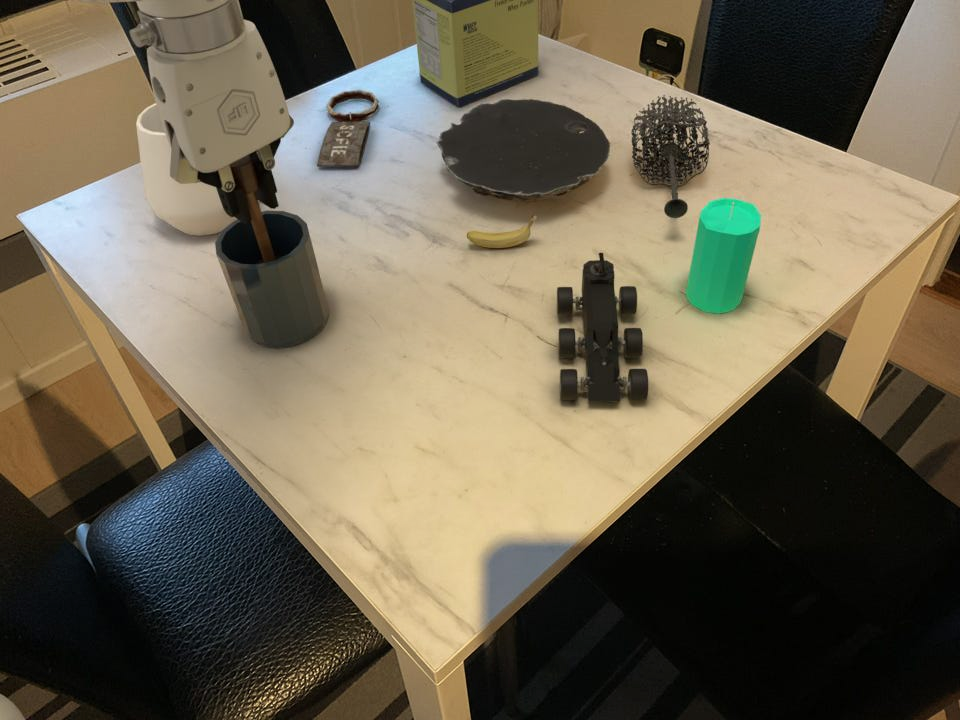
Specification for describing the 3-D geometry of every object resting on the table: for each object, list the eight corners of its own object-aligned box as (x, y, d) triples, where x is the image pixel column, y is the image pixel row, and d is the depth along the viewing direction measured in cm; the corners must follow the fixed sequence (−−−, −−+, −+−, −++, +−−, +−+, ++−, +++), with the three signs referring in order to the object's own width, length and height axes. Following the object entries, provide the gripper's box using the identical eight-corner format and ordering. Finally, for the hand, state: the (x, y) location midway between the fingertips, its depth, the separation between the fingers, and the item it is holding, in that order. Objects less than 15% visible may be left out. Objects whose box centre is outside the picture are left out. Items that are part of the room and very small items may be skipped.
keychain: (307, 170, 107) (304, 157, 106) (332, 99, 120) (330, 87, 119) (364, 169, 107) (362, 156, 105) (383, 98, 120) (381, 86, 118)
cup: (230, 171, 108) (198, 74, 98) (283, 212, 101) (255, 112, 91) (138, 214, 102) (95, 115, 92) (188, 261, 95) (147, 159, 85)
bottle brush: (262, 315, 83) (215, 177, 71) (258, 289, 86) (212, 152, 74) (304, 306, 84) (264, 167, 72) (299, 280, 87) (260, 143, 75)
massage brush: (630, 240, 93) (637, 172, 87) (627, 140, 108) (633, 74, 102) (711, 243, 92) (726, 174, 86) (698, 141, 107) (709, 75, 101)
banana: (535, 238, 95) (535, 210, 92) (537, 247, 94) (537, 219, 91) (467, 243, 95) (465, 216, 92) (468, 253, 93) (466, 225, 91)
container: (248, 356, 83) (218, 276, 75) (241, 301, 90) (212, 221, 82) (335, 336, 85) (314, 255, 77) (322, 282, 91) (301, 202, 83)
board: (601, 128, 111) (604, 94, 107) (615, 224, 96) (618, 188, 92) (444, 133, 112) (441, 99, 108) (433, 228, 97) (429, 193, 93)
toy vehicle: (632, 302, 86) (640, 237, 80) (646, 408, 76) (657, 344, 70) (556, 303, 87) (558, 238, 80) (560, 409, 76) (562, 344, 70)
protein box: (540, 74, 122) (540, -31, 111) (458, 109, 116) (449, 1, 105) (498, 51, 128) (495, -51, 117) (418, 83, 122) (406, -22, 111)
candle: (716, 269, 89) (735, 178, 80) (754, 300, 85) (778, 207, 77) (673, 289, 87) (689, 198, 79) (710, 321, 84) (731, 229, 75)
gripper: (128, 74, 58) (204, 268, 71) (303, -1, 65) (342, 187, 79) (79, 45, 62) (160, 234, 75) (250, -23, 69) (296, 160, 83)
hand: (253, 208), depth 77 cm, fingers closed on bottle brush, 2 cm apart
